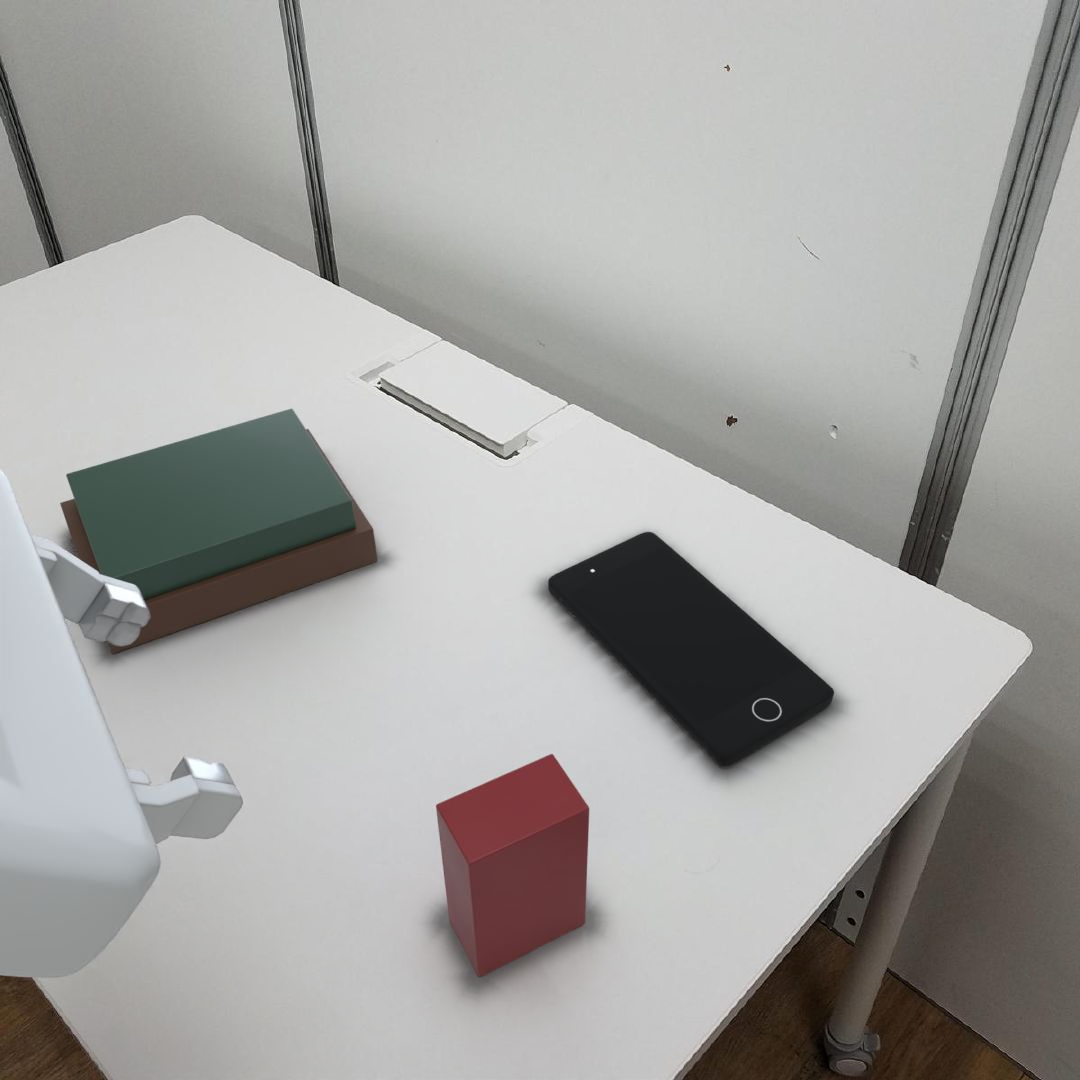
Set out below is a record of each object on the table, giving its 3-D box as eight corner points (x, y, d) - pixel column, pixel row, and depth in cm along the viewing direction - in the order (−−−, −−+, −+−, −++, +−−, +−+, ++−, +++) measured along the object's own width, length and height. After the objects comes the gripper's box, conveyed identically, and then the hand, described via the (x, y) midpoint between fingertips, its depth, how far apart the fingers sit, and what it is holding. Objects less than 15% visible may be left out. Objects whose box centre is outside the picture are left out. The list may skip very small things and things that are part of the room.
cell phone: (723, 771, 63) (725, 760, 62) (544, 588, 74) (544, 578, 74) (835, 702, 67) (838, 692, 66) (649, 538, 78) (649, 528, 77)
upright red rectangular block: (478, 978, 54) (468, 864, 48) (448, 920, 57) (435, 804, 50) (587, 923, 56) (592, 807, 50) (554, 869, 59) (554, 751, 52)
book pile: (112, 654, 70) (88, 592, 67) (72, 535, 79) (48, 474, 75) (378, 561, 77) (369, 499, 73) (313, 460, 85) (303, 400, 82)
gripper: (-218, 805, 20) (360, 864, 30) (-271, 316, 33) (140, 472, 43) (-376, 1055, 21) (232, 1031, 31) (-365, 485, 34) (57, 599, 44)
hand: (177, 702), depth 37 cm, fingers open, 8 cm apart
